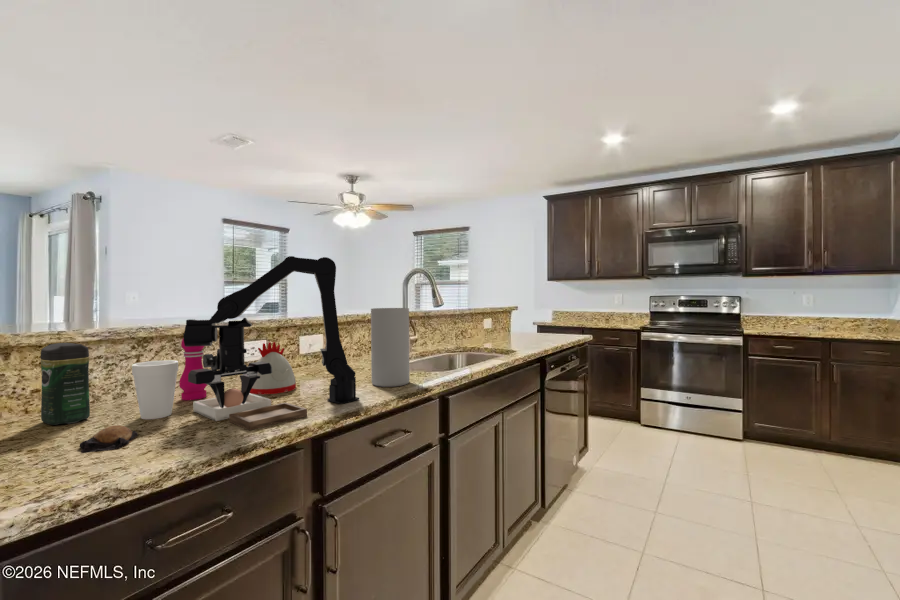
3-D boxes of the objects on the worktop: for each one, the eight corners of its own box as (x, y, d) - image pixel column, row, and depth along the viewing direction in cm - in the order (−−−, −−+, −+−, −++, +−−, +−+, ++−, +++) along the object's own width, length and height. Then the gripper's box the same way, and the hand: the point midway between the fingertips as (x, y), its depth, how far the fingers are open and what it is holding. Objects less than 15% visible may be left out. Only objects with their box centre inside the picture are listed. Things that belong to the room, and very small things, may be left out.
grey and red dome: (240, 390, 134) (239, 342, 134) (282, 383, 144) (281, 338, 144) (261, 396, 125) (260, 345, 125) (304, 388, 135) (303, 341, 135)
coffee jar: (95, 419, 103) (94, 342, 102) (52, 428, 96) (51, 345, 96) (78, 413, 107) (77, 340, 107) (36, 422, 101) (34, 343, 100)
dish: (247, 401, 119) (246, 392, 119) (271, 409, 111) (271, 399, 111) (193, 411, 109) (193, 401, 109) (215, 421, 100) (215, 410, 100)
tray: (285, 409, 110) (285, 402, 110) (307, 416, 104) (306, 408, 104) (229, 421, 99) (229, 414, 99) (249, 430, 93) (249, 422, 93)
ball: (238, 404, 113) (238, 385, 113) (246, 407, 110) (246, 388, 110) (218, 408, 109) (218, 388, 109) (226, 411, 106) (226, 391, 106)
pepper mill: (173, 399, 122) (172, 329, 122) (196, 394, 128) (196, 327, 128) (191, 401, 119) (190, 330, 119) (214, 396, 126) (213, 328, 125)
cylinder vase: (383, 378, 150) (382, 307, 150) (415, 381, 146) (414, 308, 146) (364, 386, 138) (363, 309, 138) (399, 388, 134) (398, 309, 134)
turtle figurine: (94, 440, 89) (93, 423, 89) (142, 435, 92) (142, 418, 92) (71, 458, 79) (71, 438, 79) (126, 451, 83) (126, 432, 83)
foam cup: (155, 422, 100) (154, 366, 100) (122, 420, 102) (121, 365, 102) (187, 411, 109) (187, 360, 109) (157, 409, 111) (156, 359, 111)
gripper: (253, 340, 122) (253, 394, 122) (179, 346, 108) (180, 408, 108) (272, 342, 115) (273, 400, 115) (196, 349, 100) (197, 415, 101)
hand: (232, 405), depth 110 cm, fingers closed on ball, 5 cm apart
